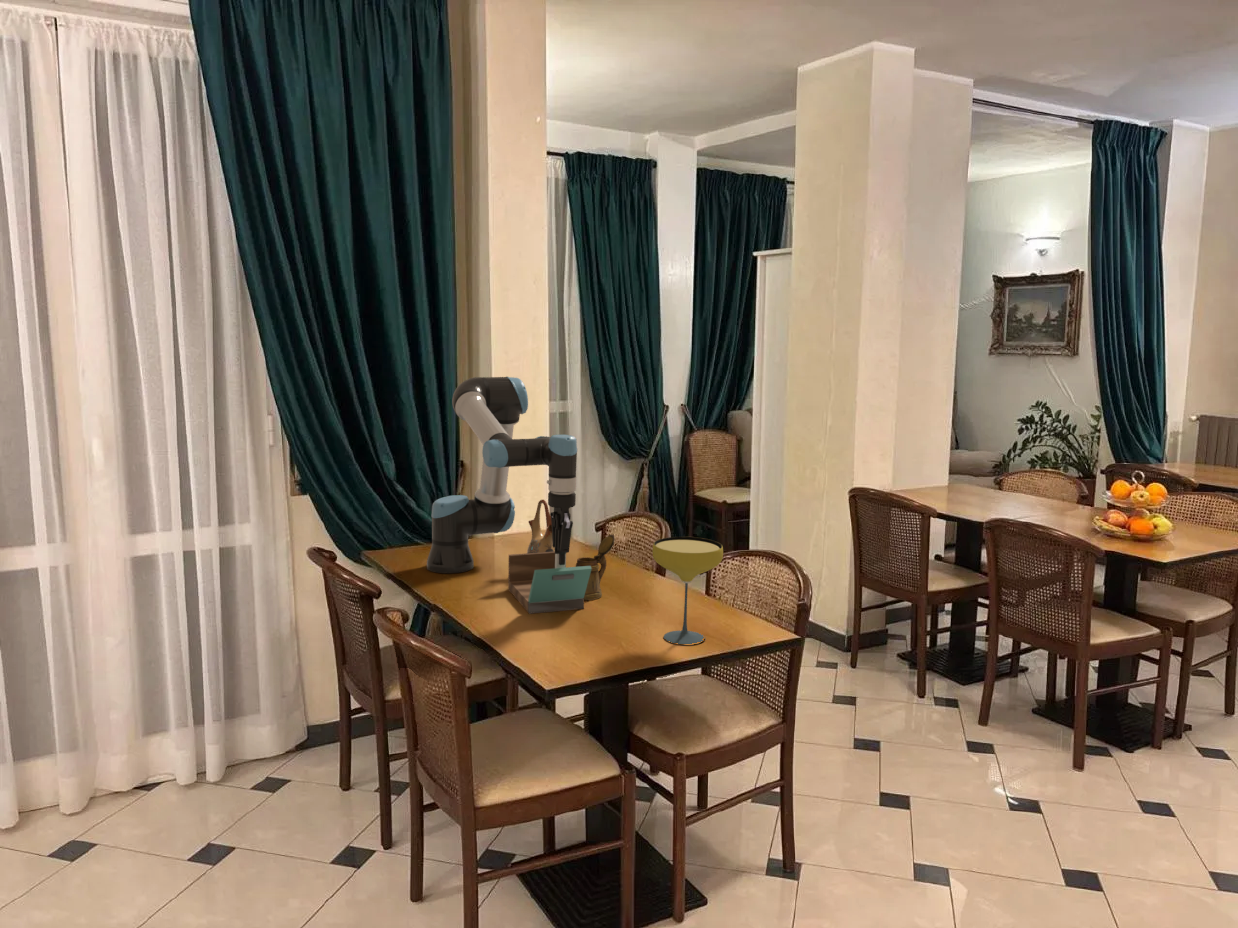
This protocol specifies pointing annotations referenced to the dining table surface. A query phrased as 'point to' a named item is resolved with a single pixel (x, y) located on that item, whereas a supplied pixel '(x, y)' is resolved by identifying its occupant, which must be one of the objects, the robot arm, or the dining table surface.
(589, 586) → the wooden mug
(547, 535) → the ceramic vessel
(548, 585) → the panel
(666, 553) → the cocktail glass
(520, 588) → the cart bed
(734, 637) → the dining table surface
